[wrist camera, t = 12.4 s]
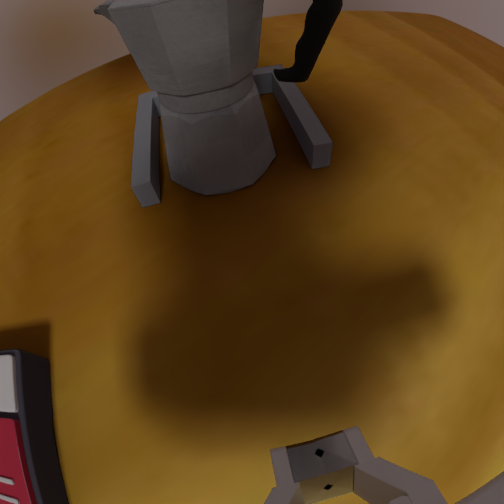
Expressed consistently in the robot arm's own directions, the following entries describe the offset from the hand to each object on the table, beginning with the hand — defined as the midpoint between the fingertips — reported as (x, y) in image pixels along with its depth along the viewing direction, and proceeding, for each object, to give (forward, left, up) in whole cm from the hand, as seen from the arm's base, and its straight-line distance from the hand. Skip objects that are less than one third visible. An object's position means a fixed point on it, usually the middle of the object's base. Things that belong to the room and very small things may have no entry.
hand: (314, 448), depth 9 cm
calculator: (-21, 0, -7) cm, 22 cm away
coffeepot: (0, +21, -7) cm, 22 cm away
